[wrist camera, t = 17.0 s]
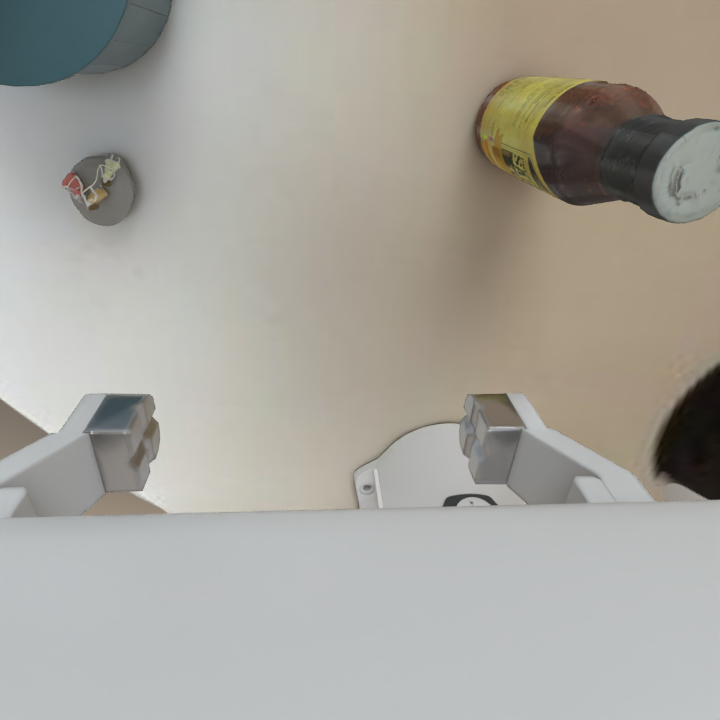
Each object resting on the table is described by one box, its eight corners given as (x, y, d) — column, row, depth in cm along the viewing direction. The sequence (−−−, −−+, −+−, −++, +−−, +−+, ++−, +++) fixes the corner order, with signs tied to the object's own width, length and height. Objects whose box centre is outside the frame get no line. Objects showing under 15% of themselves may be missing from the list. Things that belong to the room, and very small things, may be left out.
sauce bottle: (459, 152, 38) (581, 224, 21) (495, 61, 35) (672, 57, 18) (533, 179, 39) (704, 267, 22) (574, 94, 36) (806, 120, 19)
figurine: (127, 229, 38) (99, 254, 33) (69, 199, 37) (29, 220, 32) (152, 168, 36) (126, 185, 31) (91, 133, 35) (53, 145, 30)
